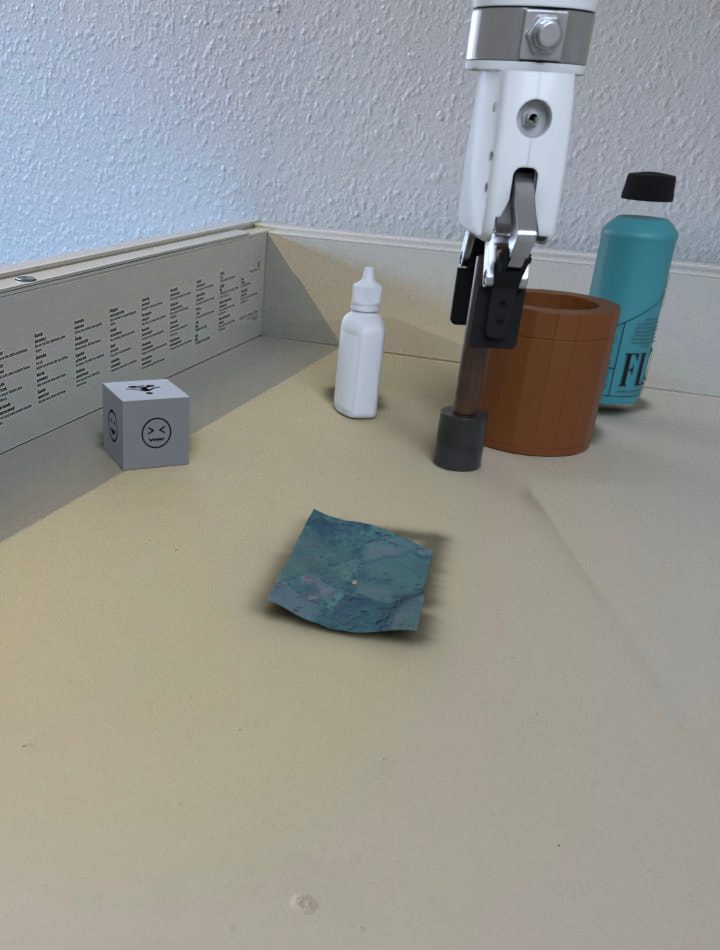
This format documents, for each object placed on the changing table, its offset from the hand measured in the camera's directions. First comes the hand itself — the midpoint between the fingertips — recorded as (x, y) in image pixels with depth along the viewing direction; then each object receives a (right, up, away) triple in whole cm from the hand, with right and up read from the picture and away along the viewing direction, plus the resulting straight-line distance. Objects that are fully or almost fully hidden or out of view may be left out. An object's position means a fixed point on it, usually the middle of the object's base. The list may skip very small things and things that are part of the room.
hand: (481, 333), depth 71 cm
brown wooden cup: (+7, -5, +12) cm, 14 cm away
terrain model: (-11, -19, -15) cm, 27 cm away
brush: (-1, -9, +5) cm, 10 cm away
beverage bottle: (+16, -1, +20) cm, 25 cm away
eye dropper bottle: (-7, -2, +16) cm, 18 cm away
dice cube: (-24, -8, +3) cm, 26 cm away
